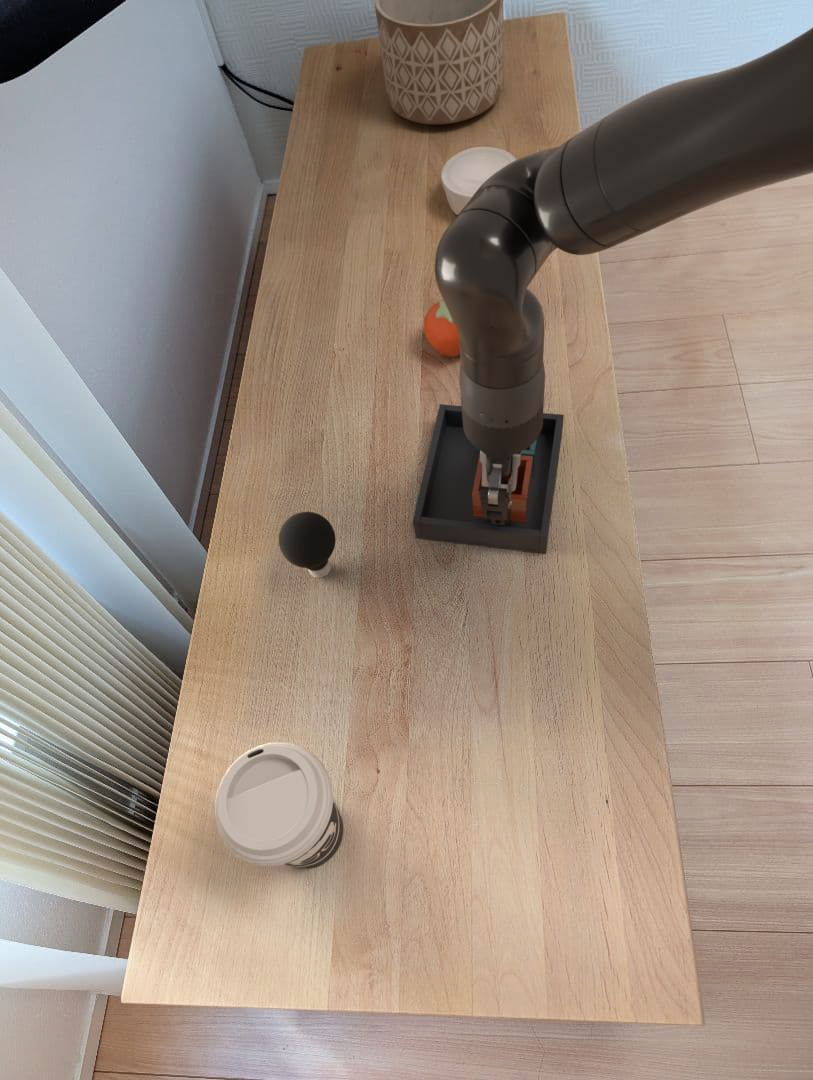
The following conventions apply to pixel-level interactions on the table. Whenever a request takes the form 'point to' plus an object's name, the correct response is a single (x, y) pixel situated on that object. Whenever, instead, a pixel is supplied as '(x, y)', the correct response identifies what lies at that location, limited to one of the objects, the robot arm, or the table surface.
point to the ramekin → (471, 173)
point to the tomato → (441, 330)
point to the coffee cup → (279, 808)
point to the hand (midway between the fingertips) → (503, 496)
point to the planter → (441, 57)
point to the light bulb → (308, 542)
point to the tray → (452, 481)
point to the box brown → (517, 496)
